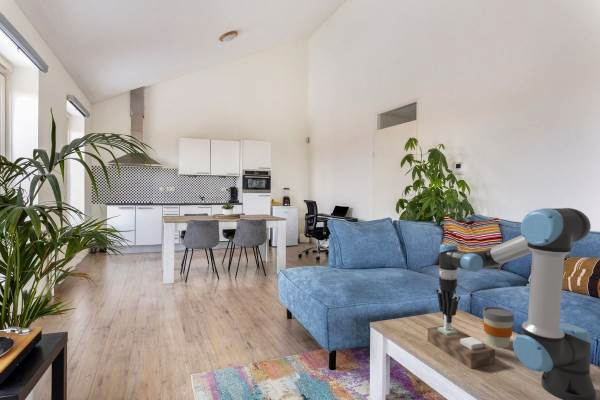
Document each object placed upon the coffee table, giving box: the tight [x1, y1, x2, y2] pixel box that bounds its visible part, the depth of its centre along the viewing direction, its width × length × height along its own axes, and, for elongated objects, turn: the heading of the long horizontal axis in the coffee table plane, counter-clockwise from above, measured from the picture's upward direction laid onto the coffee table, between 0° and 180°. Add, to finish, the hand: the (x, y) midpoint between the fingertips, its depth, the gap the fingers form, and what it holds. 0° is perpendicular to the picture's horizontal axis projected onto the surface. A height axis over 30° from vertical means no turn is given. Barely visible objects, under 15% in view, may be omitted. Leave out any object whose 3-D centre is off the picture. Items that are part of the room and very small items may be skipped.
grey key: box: [460, 336, 484, 350], centre depth 141 cm, size 6×6×5 cm
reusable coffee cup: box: [482, 306, 515, 349], centre depth 156 cm, size 13×13×15 cm
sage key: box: [438, 326, 458, 335], centre depth 155 cm, size 6×6×5 cm
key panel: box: [427, 325, 496, 370], centre depth 148 cm, size 26×12×6 cm, turn 18°
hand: (447, 328), depth 155 cm, fingers closed
